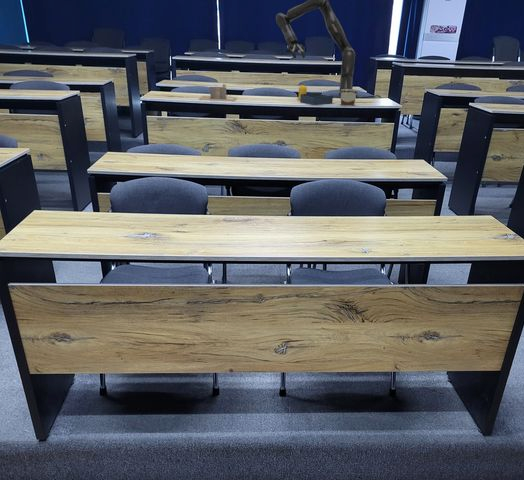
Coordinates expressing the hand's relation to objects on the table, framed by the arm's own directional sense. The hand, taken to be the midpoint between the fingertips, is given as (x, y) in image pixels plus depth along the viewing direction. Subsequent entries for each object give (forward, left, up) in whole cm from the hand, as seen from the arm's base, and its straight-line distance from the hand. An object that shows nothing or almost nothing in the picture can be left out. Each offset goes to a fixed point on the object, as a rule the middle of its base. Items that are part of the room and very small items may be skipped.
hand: (299, 57), depth 387 cm
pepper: (+7, +13, -27) cm, 30 cm away
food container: (-8, +47, -27) cm, 55 cm away
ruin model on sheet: (+61, -17, -27) cm, 69 cm away
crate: (+6, +29, -27) cm, 40 cm away
